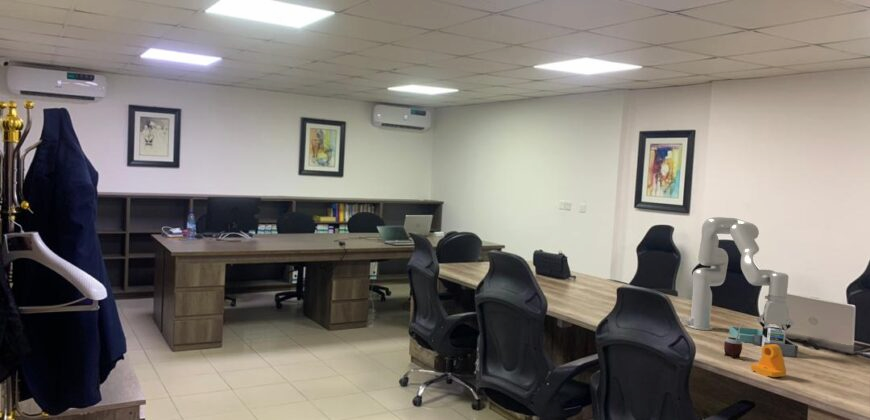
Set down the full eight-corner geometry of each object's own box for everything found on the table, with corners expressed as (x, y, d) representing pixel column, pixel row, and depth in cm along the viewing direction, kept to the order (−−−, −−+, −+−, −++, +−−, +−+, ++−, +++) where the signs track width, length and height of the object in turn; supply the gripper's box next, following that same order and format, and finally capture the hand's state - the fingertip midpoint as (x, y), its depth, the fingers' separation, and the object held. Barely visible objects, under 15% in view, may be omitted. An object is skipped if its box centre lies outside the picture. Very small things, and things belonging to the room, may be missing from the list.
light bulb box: (784, 354, 285) (786, 331, 284) (768, 352, 286) (770, 329, 285) (776, 348, 295) (778, 325, 295) (760, 346, 296) (763, 324, 296)
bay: (764, 353, 284) (765, 342, 283) (752, 344, 300) (753, 334, 299) (797, 357, 281) (798, 346, 281) (783, 347, 297) (784, 337, 297)
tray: (739, 341, 304) (739, 334, 303) (728, 332, 321) (729, 326, 321) (770, 344, 301) (770, 337, 301) (758, 336, 319) (758, 329, 318)
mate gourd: (723, 357, 273) (727, 323, 272) (722, 352, 280) (725, 319, 279) (742, 360, 270) (746, 325, 269) (741, 355, 277) (744, 322, 277)
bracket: (749, 370, 255) (751, 341, 254) (761, 369, 258) (764, 340, 257) (773, 379, 245) (776, 349, 244) (785, 377, 248) (788, 348, 247)
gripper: (759, 298, 287) (756, 337, 288) (800, 302, 284) (796, 341, 285) (754, 296, 295) (750, 333, 296) (794, 299, 291) (790, 337, 292)
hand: (773, 337), depth 290 cm, fingers closed on light bulb box, 6 cm apart
